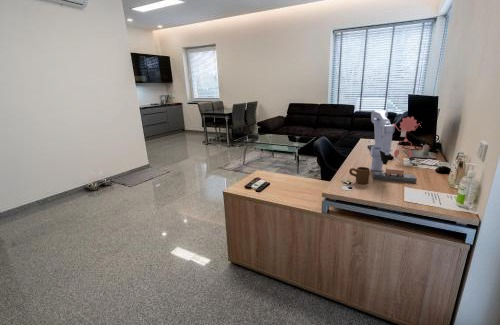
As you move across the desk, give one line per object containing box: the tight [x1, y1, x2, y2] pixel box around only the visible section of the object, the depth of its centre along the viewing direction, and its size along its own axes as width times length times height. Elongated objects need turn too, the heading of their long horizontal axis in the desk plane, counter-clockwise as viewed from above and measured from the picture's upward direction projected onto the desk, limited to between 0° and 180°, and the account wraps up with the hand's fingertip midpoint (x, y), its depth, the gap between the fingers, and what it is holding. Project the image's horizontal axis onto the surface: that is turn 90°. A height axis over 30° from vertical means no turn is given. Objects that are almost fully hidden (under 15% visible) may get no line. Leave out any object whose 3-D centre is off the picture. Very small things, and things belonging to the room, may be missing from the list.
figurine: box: [391, 116, 421, 158], centre depth 209 cm, size 15×26×35 cm, turn 69°
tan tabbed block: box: [385, 167, 405, 177], centre depth 164 cm, size 3×10×7 cm, turn 70°
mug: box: [348, 166, 371, 185], centre depth 161 cm, size 12×8×9 cm, turn 70°
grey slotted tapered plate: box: [372, 171, 418, 184], centre depth 165 cm, size 8×24×3 cm, turn 70°
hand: (383, 162), depth 169 cm, fingers open, 7 cm apart
